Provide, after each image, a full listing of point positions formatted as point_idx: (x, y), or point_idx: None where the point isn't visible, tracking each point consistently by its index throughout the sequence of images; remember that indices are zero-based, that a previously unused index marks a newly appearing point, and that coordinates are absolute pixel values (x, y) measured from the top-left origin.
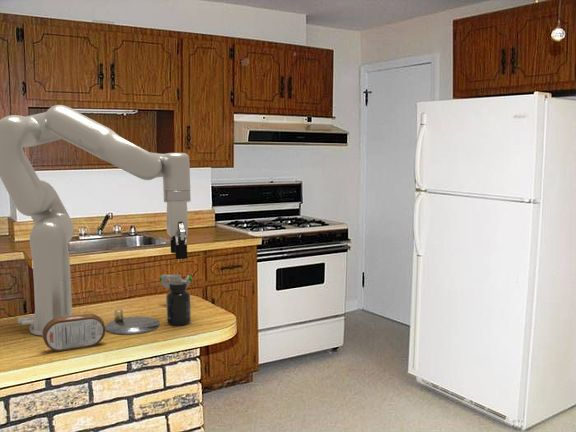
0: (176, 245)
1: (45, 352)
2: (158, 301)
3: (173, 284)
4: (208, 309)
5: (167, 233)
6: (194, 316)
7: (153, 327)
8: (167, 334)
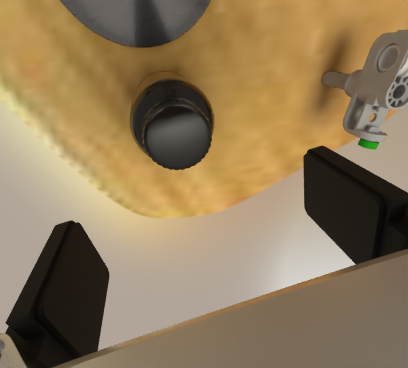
0: (14, 325)
1: None
2: (389, 14)
3: (154, 123)
4: (273, 162)
5: (367, 274)
6: (222, 137)
7: (100, 31)
8: (60, 83)
